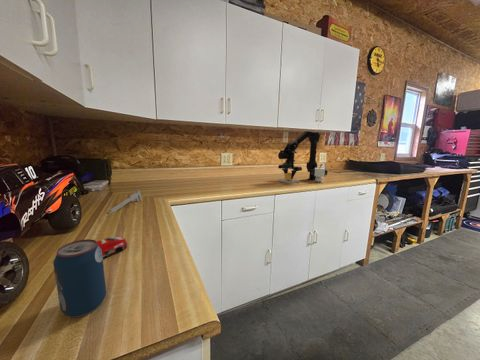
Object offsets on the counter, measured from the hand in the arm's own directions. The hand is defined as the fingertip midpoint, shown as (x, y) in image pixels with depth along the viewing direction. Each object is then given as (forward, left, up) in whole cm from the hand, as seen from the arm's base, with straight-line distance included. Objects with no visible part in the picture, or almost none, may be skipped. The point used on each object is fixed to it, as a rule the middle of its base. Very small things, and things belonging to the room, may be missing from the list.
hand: (289, 178), depth 168 cm
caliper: (+117, -13, -3) cm, 118 cm away
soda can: (+141, +45, -3) cm, 148 cm away
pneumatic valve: (-21, +15, -3) cm, 26 cm away
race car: (+135, +27, -3) cm, 138 cm away
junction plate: (0, 0, -3) cm, 3 cm away
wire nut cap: (0, 0, -1) cm, 1 cm away
